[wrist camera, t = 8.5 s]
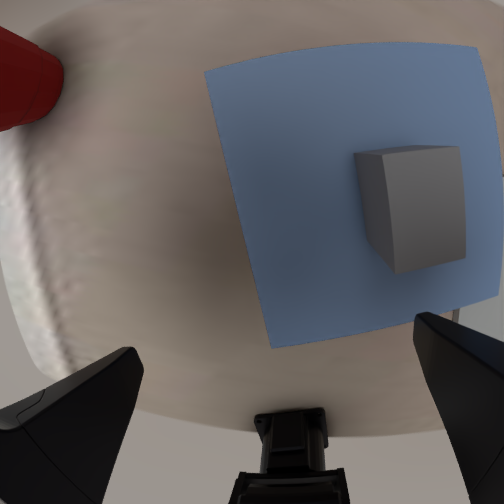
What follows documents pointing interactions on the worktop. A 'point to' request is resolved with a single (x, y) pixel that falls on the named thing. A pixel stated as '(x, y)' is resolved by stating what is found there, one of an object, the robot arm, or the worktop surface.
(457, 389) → the robot arm
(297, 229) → the cover sheet
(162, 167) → the worktop surface
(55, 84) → the plastic cup
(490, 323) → the mat
